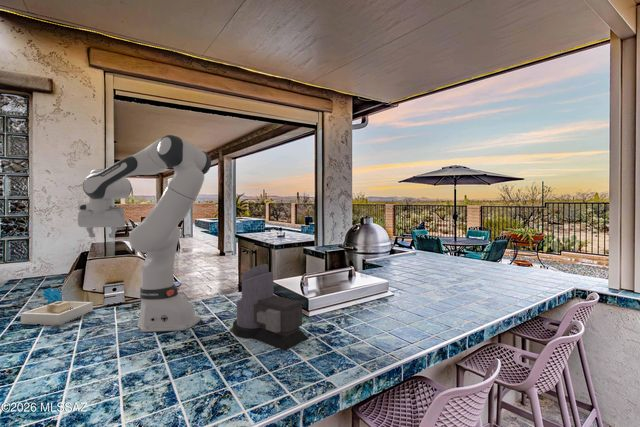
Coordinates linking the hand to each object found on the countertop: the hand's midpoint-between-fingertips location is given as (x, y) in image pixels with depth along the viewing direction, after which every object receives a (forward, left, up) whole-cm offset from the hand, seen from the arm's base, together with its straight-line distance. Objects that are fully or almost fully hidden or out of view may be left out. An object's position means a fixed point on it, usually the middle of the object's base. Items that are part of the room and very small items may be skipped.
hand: (102, 237), depth 143 cm
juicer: (-80, +22, -32) cm, 89 cm away
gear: (+25, -2, -31) cm, 40 cm away
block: (+8, +14, -30) cm, 34 cm away
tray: (+8, +14, -31) cm, 35 cm away
